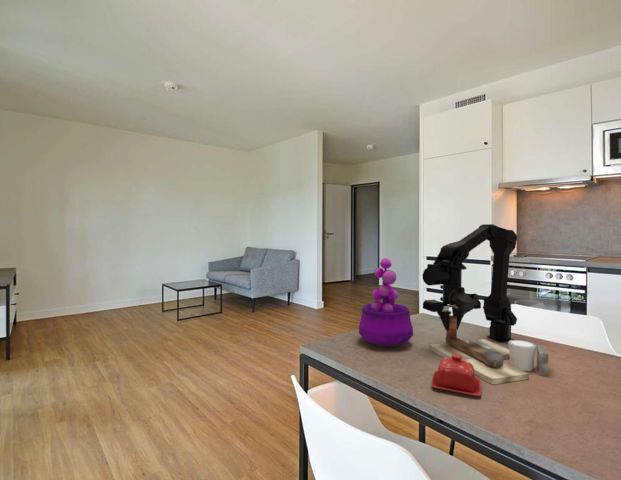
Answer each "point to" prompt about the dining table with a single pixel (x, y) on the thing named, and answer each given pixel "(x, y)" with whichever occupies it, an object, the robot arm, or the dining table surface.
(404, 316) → the decorative plant
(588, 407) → the dining table surface
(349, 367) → the dining table surface
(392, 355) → the dining table surface
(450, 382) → the butter dish
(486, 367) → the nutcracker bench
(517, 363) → the white mug
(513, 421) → the dining table surface
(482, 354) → the lever
